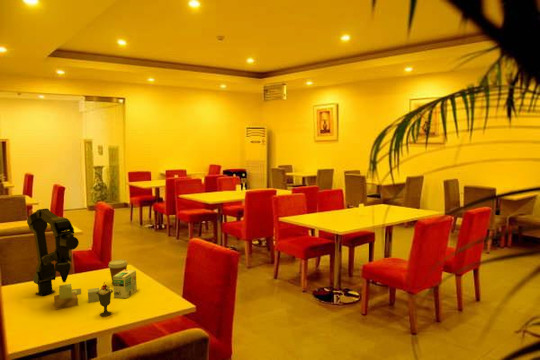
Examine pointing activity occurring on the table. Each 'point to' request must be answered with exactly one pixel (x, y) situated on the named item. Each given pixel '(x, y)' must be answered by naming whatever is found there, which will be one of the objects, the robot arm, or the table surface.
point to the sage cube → (65, 291)
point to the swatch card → (77, 291)
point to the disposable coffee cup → (117, 267)
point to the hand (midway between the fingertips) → (64, 279)
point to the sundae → (105, 298)
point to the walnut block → (65, 301)
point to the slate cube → (93, 295)
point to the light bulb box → (124, 283)
